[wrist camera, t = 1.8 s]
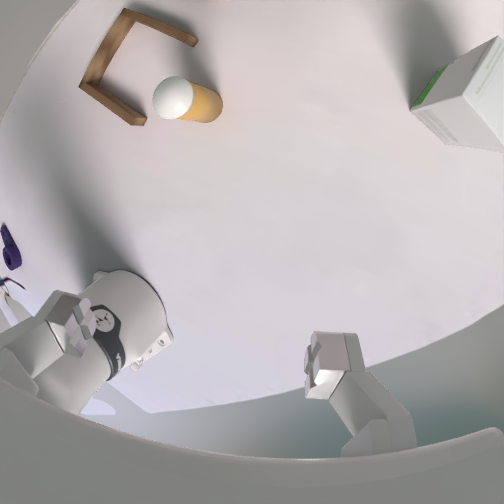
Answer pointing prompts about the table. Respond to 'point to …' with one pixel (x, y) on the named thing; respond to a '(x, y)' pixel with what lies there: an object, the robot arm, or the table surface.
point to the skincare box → (467, 99)
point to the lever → (10, 250)
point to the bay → (107, 53)
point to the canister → (186, 101)
